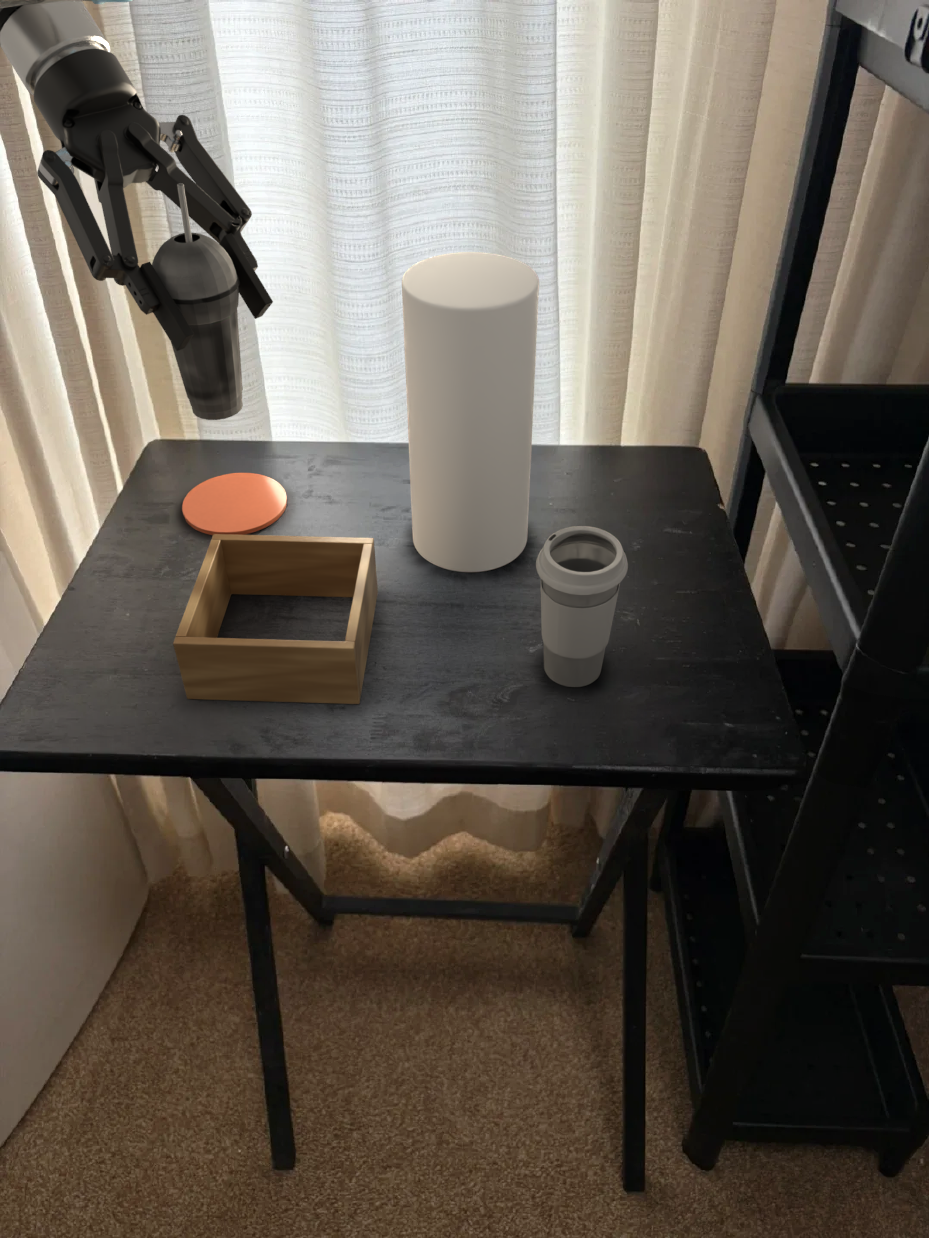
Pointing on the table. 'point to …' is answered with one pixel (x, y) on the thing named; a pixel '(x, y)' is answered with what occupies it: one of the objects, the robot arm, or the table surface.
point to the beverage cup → (204, 318)
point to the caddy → (267, 662)
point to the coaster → (234, 504)
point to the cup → (578, 601)
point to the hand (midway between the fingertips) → (225, 326)
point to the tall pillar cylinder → (470, 406)
